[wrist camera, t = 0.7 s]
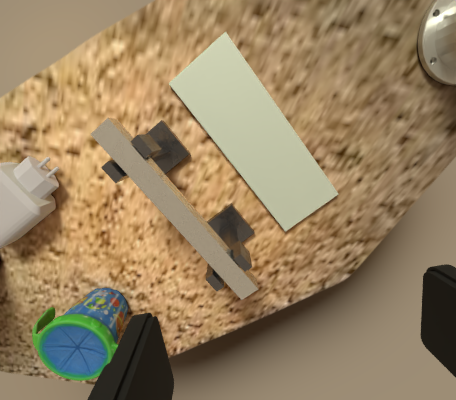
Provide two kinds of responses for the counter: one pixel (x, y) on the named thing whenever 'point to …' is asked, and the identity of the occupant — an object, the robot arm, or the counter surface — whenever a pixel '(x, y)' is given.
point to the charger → (24, 197)
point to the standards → (166, 159)
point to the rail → (174, 206)
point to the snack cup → (82, 335)
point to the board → (253, 132)
